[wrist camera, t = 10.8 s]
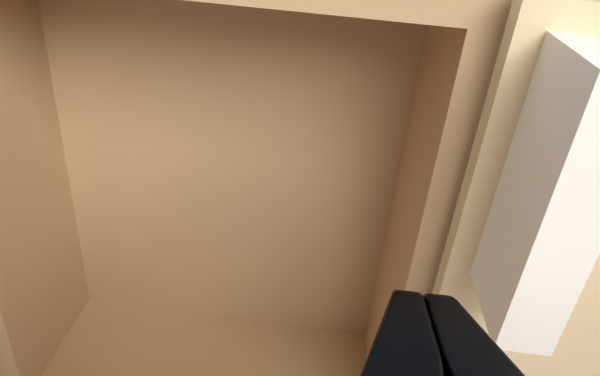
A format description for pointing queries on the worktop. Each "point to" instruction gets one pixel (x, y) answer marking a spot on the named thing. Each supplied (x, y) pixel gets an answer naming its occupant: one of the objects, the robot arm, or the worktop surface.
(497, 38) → the carton
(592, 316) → the inner lid
